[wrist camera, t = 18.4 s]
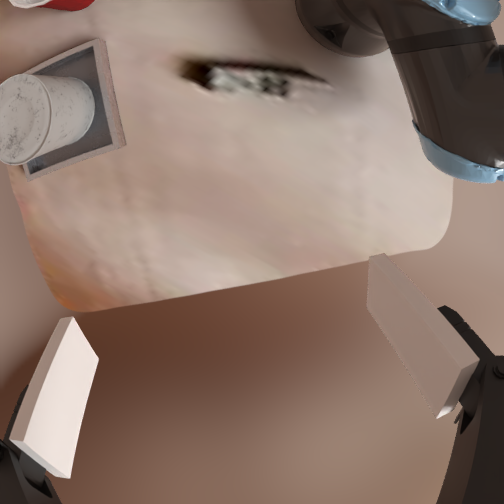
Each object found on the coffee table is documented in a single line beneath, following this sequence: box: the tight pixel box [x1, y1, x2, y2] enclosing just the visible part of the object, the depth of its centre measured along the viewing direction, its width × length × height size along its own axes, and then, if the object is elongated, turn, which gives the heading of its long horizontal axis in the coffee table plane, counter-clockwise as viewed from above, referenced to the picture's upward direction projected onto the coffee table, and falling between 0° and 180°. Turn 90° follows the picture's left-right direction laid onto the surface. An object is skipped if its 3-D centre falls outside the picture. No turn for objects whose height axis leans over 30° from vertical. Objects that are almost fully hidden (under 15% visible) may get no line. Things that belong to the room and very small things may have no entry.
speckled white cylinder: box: [0, 73, 95, 165], centre depth 27 cm, size 10×10×12 cm
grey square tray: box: [22, 38, 126, 182], centre depth 32 cm, size 15×15×3 cm
